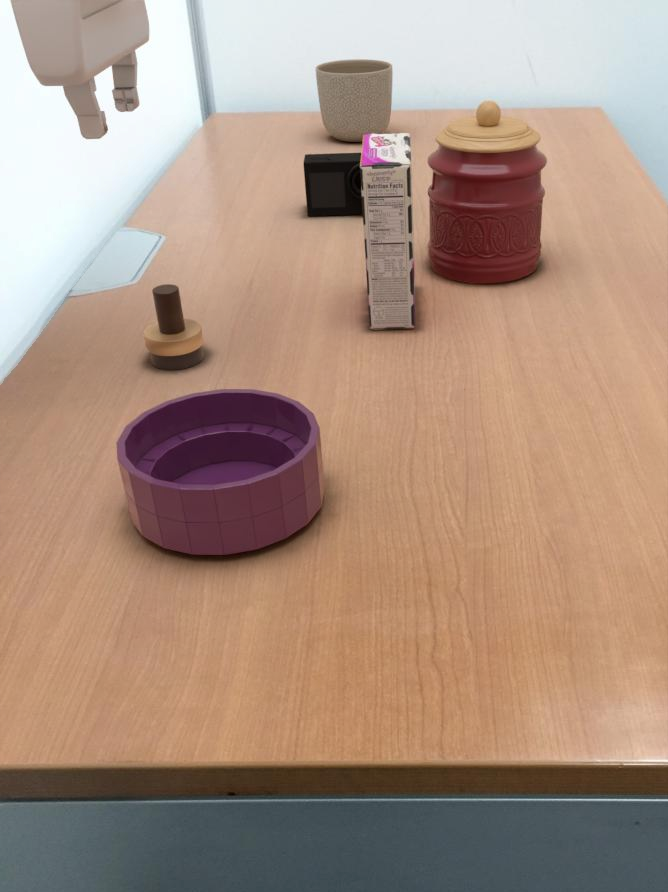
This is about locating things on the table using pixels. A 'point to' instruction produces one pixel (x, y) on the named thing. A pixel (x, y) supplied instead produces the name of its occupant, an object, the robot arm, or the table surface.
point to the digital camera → (333, 184)
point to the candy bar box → (388, 230)
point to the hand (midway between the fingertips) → (112, 122)
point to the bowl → (222, 470)
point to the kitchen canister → (486, 198)
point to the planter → (355, 97)
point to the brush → (172, 333)
